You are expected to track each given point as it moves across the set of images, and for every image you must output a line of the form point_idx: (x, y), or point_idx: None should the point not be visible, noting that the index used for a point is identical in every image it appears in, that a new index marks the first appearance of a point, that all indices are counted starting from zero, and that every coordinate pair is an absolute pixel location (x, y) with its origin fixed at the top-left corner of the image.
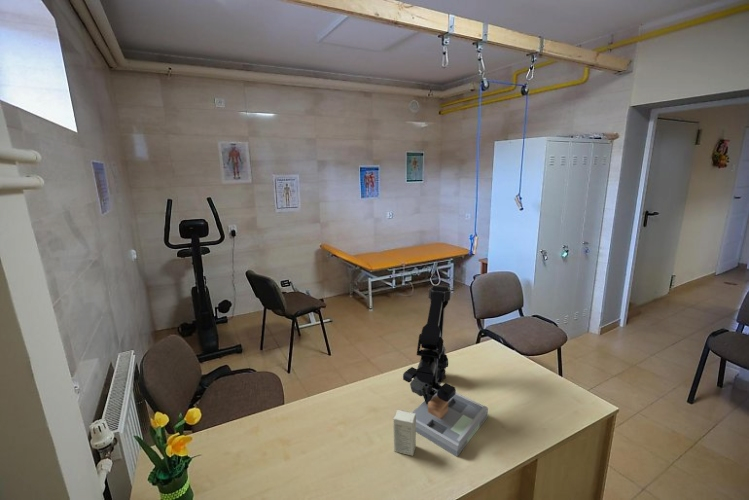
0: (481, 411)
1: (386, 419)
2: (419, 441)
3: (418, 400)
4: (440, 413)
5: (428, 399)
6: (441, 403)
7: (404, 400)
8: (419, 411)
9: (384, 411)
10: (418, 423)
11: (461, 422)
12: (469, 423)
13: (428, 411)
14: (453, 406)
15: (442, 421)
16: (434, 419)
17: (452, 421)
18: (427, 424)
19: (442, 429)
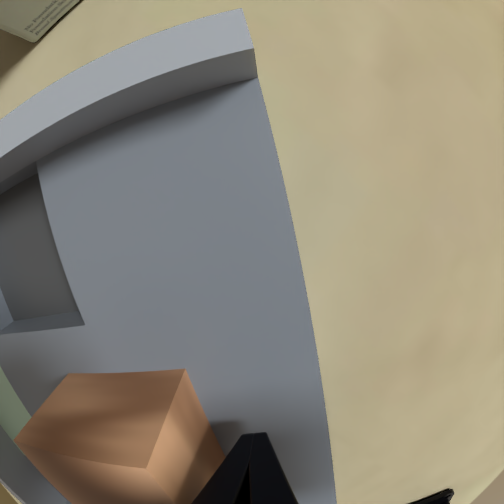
0: (20, 499)
1: (406, 5)
2: (41, 88)
3: (397, 396)
4: (39, 408)
5: (202, 499)
6: (83, 499)
7: (479, 305)
8: (248, 308)
9: (487, 68)
10: (19, 109)
11: (23, 420)
12: (14, 432)
13: (174, 376)
14: None
15: (42, 362)
16: (78, 338)
17: (33, 401)
18: (58, 238)
19: (33, 313)
